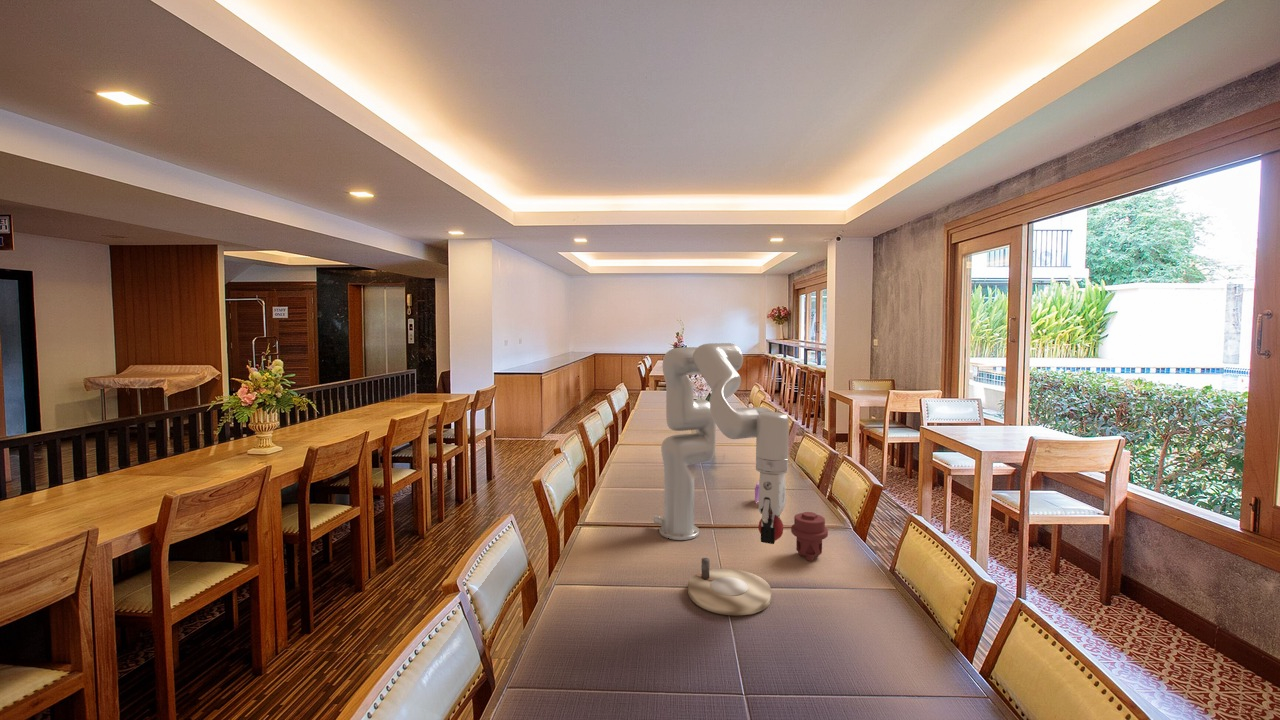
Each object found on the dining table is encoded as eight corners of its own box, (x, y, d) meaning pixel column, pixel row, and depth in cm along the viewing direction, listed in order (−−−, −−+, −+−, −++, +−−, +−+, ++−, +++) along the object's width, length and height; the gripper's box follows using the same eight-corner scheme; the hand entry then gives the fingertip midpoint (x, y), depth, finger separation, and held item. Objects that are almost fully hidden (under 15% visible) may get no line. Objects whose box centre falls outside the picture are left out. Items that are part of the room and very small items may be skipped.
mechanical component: (824, 550, 156) (829, 565, 147) (789, 547, 158) (792, 562, 149) (825, 509, 156) (830, 521, 146) (790, 507, 158) (792, 518, 148)
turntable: (743, 625, 116) (744, 596, 115) (671, 595, 129) (671, 569, 129) (785, 591, 131) (786, 565, 130) (717, 567, 144) (717, 544, 144)
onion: (783, 539, 130) (784, 507, 130) (782, 548, 125) (783, 515, 124) (759, 536, 132) (759, 505, 132) (757, 545, 127) (757, 512, 126)
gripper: (781, 475, 118) (779, 554, 119) (793, 457, 133) (791, 527, 135) (748, 471, 121) (746, 548, 122) (763, 454, 137) (762, 523, 138)
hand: (770, 536), depth 128 cm, fingers closed on onion, 5 cm apart
